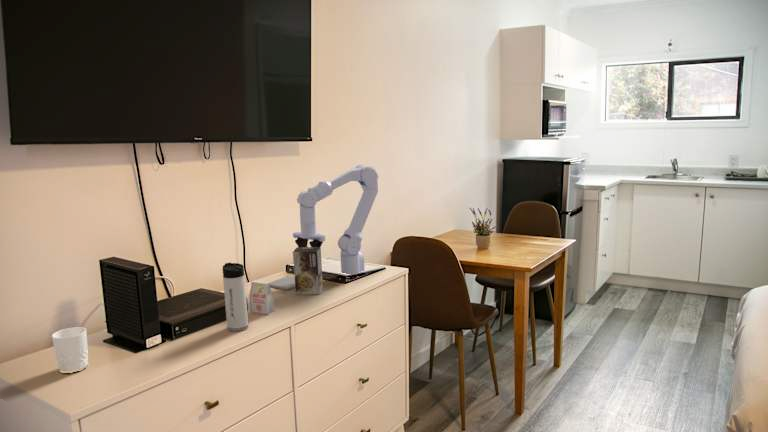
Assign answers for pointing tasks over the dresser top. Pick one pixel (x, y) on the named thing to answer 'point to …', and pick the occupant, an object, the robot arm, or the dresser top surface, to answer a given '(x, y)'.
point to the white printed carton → (261, 298)
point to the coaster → (283, 283)
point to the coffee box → (308, 270)
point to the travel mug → (235, 296)
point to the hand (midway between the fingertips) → (309, 257)
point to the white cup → (71, 348)
